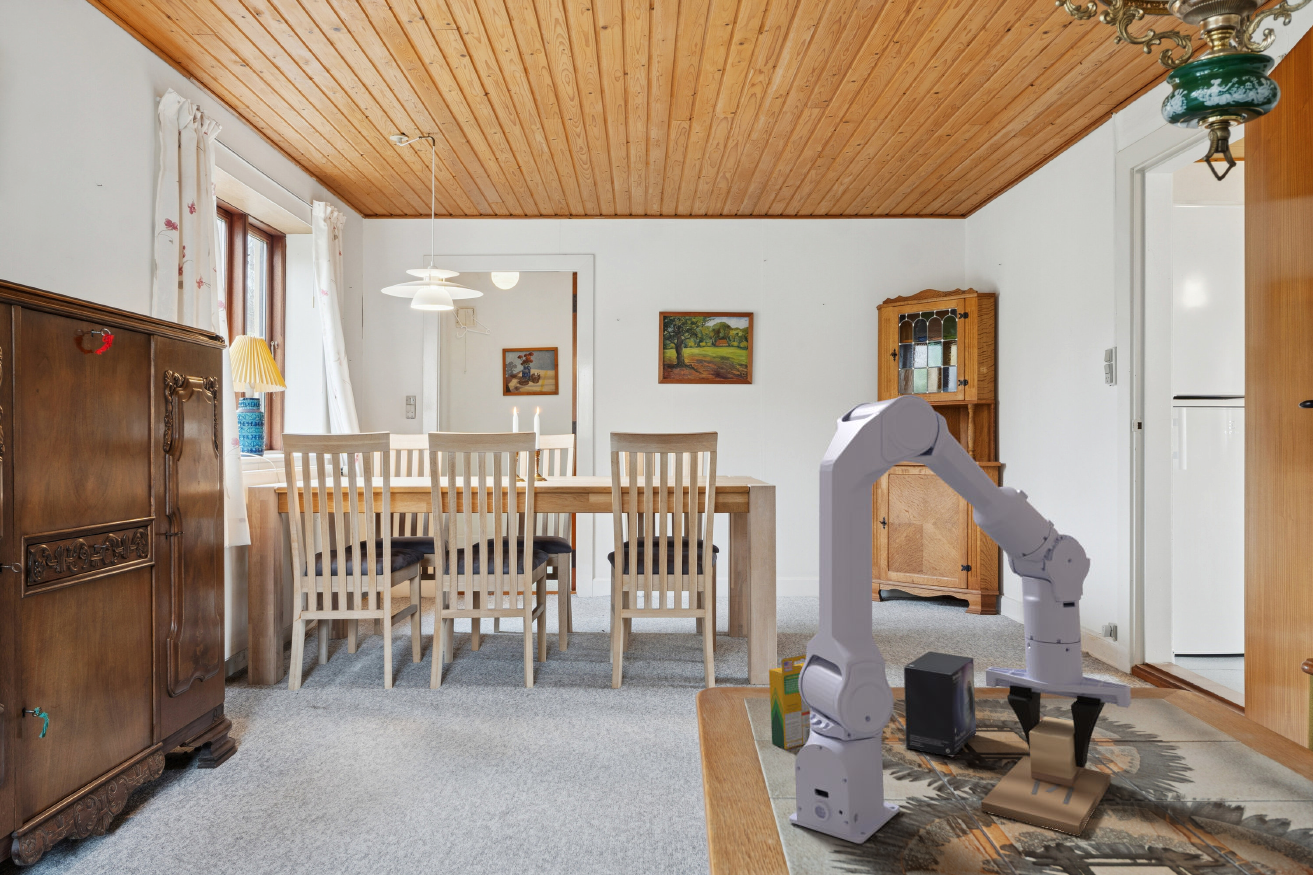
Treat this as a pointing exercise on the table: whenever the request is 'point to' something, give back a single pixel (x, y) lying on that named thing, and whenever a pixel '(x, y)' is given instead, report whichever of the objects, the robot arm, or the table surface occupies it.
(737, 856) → the table surface
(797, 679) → the crayon box
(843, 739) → the robot arm
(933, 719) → the small box
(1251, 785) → the table surface
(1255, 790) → the table surface
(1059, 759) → the block
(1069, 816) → the board
